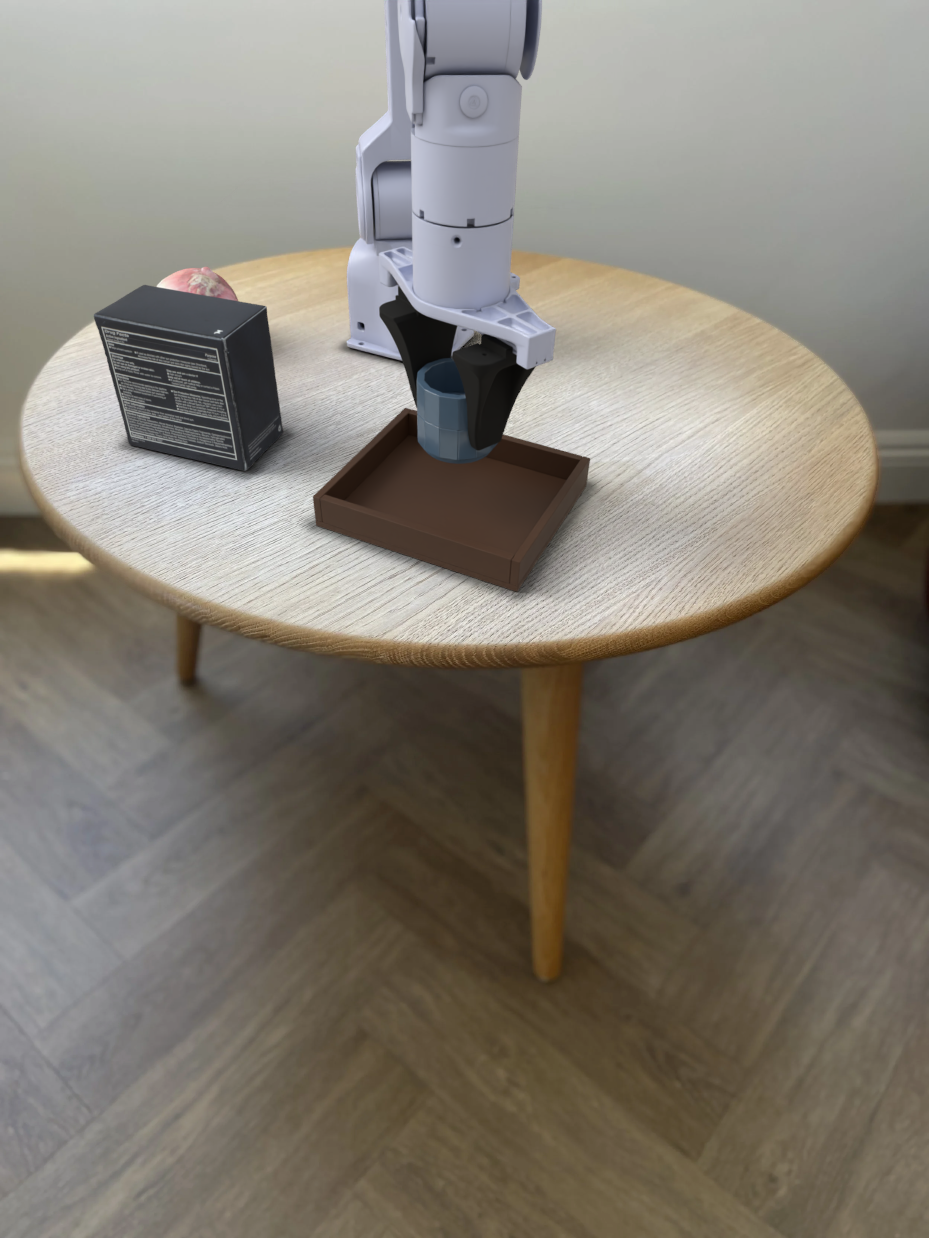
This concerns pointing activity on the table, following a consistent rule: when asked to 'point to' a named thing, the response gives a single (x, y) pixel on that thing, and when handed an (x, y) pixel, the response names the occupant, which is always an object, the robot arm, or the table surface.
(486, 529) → the tray
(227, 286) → the onion
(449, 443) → the cup
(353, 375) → the table surface
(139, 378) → the small box
